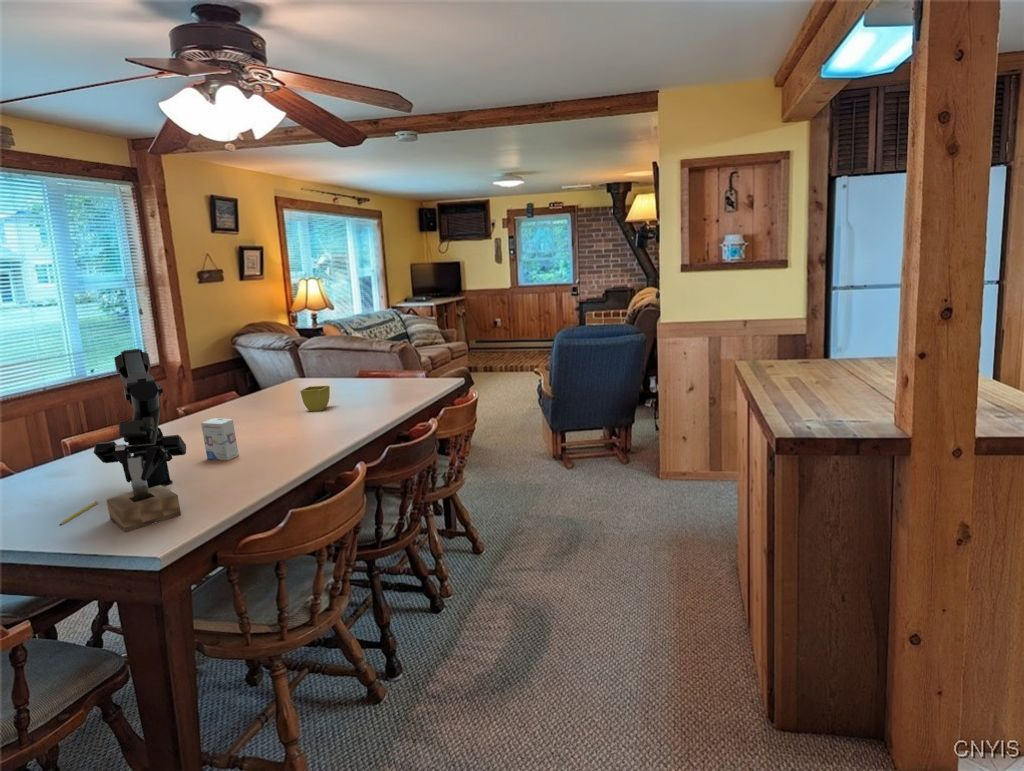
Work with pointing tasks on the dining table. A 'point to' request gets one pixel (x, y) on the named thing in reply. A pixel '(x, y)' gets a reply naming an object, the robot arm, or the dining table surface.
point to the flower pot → (315, 397)
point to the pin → (138, 478)
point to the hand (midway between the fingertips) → (136, 480)
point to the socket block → (143, 508)
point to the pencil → (79, 513)
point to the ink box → (220, 439)
